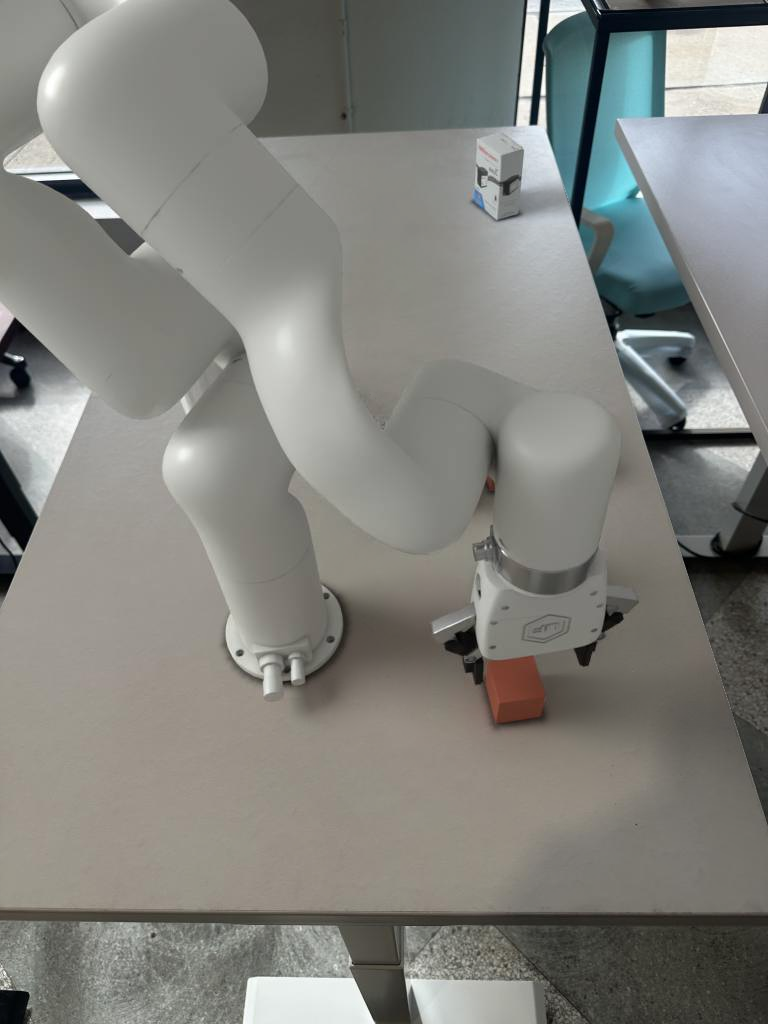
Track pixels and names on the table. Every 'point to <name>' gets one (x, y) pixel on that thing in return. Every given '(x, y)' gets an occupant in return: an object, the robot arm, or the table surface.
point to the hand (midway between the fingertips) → (527, 661)
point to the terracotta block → (514, 689)
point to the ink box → (498, 175)
